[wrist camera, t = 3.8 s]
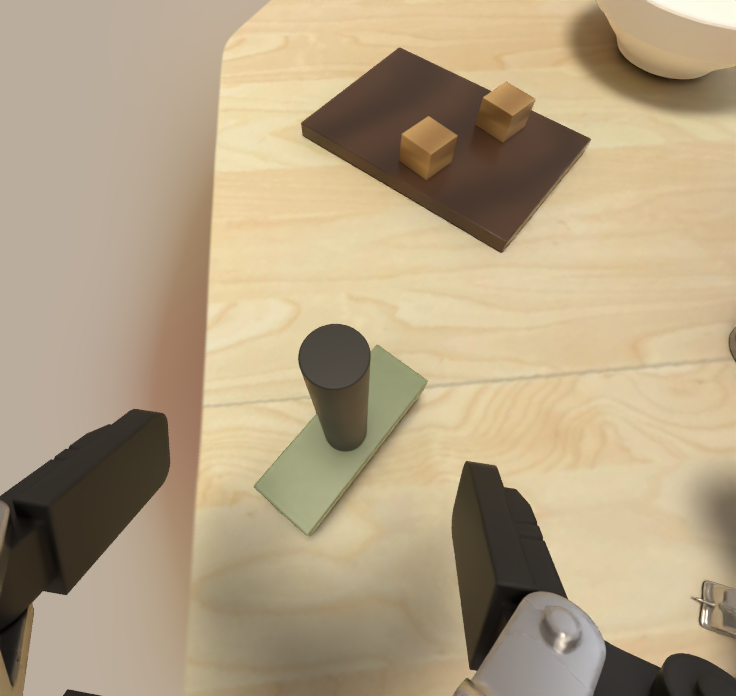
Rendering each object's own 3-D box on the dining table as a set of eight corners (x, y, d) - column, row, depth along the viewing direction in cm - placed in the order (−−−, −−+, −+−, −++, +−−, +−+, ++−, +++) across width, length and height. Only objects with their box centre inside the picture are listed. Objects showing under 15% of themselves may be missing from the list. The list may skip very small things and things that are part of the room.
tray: (302, 135, 35) (300, 122, 34) (398, 60, 40) (399, 46, 39) (501, 253, 30) (506, 242, 29) (584, 151, 35) (591, 138, 34)
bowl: (531, 17, 43) (560, -74, 37) (682, -11, 46) (735, -100, 40) (637, 138, 36) (698, 50, 29) (811, 95, 39) (902, 6, 32)
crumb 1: (398, 160, 32) (401, 133, 30) (424, 143, 33) (428, 115, 31) (426, 180, 31) (431, 154, 29) (451, 162, 32) (458, 135, 30)
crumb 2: (475, 125, 34) (482, 97, 32) (497, 109, 35) (506, 81, 33) (503, 143, 33) (512, 115, 31) (524, 126, 34) (536, 98, 32)
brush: (266, 492, 23) (165, 447, 11) (375, 364, 26) (387, 226, 14) (314, 536, 22) (259, 538, 10) (420, 398, 25) (472, 279, 14)
